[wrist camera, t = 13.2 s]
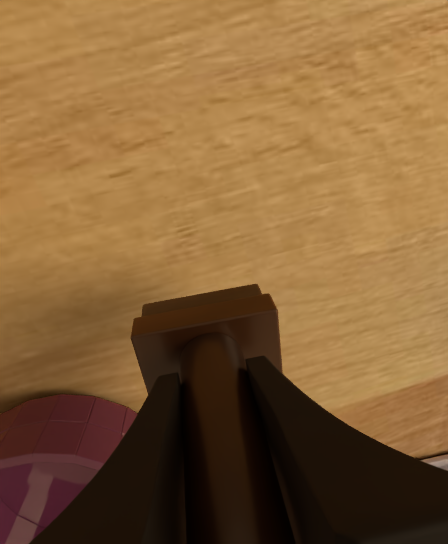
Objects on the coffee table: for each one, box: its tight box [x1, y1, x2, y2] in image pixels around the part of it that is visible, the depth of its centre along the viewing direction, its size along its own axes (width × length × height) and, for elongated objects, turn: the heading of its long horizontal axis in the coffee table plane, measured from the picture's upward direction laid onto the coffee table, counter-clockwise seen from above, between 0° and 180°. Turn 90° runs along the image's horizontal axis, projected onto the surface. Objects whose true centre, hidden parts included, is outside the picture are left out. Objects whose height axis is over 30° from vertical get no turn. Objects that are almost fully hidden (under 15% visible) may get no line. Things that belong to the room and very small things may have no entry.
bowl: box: [0, 394, 137, 544], centre depth 19 cm, size 11×11×4 cm
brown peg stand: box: [131, 284, 296, 544], centre depth 11 cm, size 5×3×9 cm, turn 99°
